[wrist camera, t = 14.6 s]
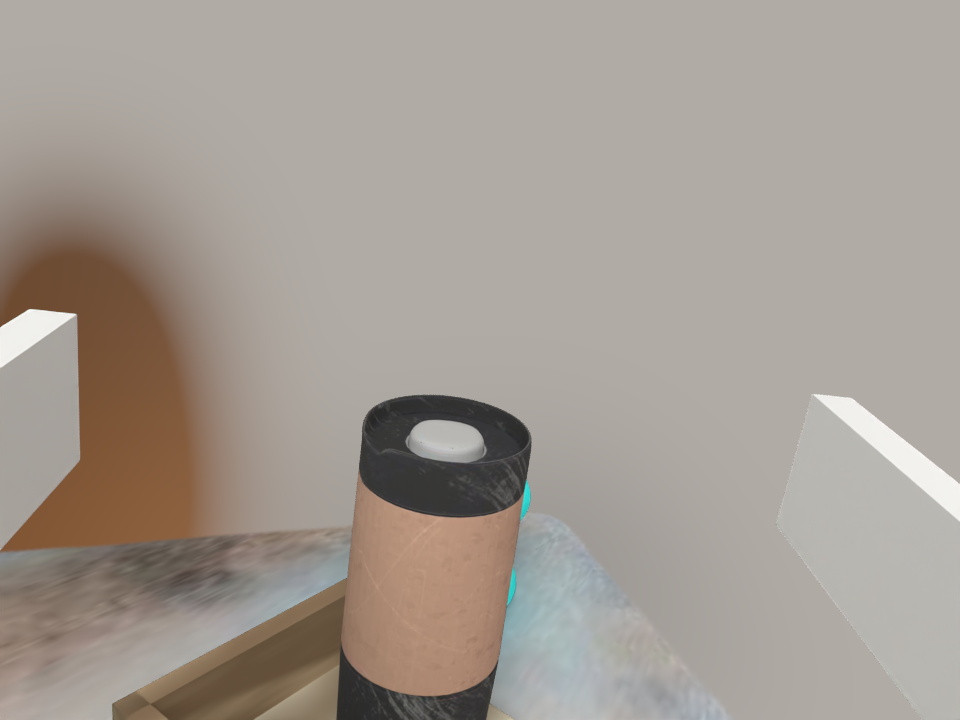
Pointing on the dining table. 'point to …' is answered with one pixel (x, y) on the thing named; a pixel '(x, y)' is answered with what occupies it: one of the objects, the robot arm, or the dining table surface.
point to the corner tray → (260, 672)
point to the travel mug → (430, 558)
